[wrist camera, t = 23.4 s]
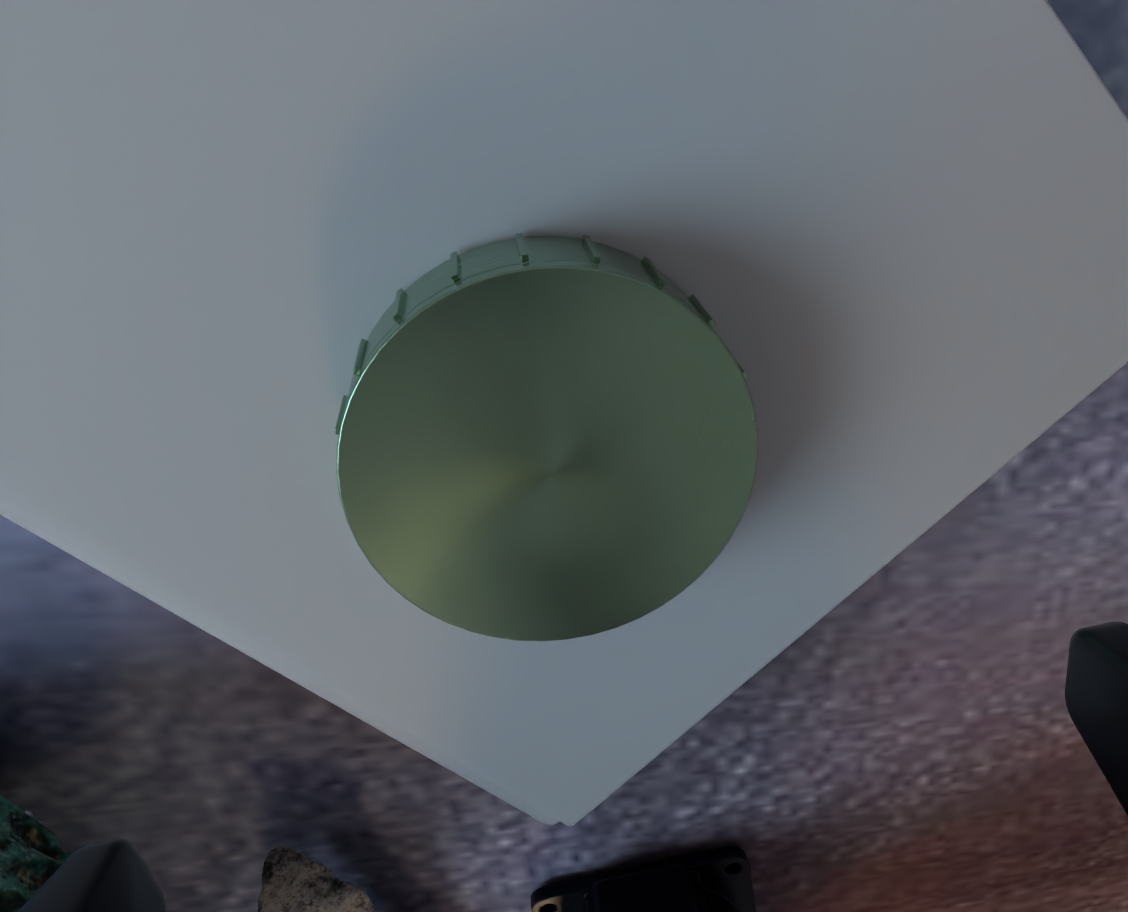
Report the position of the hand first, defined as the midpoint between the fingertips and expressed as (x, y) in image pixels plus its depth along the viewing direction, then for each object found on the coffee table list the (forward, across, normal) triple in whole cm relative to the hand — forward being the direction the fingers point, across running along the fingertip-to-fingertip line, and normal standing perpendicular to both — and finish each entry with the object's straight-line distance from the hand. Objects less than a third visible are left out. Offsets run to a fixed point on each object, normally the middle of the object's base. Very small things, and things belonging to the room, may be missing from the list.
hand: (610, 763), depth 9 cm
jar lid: (+7, 0, 0) cm, 7 cm away
